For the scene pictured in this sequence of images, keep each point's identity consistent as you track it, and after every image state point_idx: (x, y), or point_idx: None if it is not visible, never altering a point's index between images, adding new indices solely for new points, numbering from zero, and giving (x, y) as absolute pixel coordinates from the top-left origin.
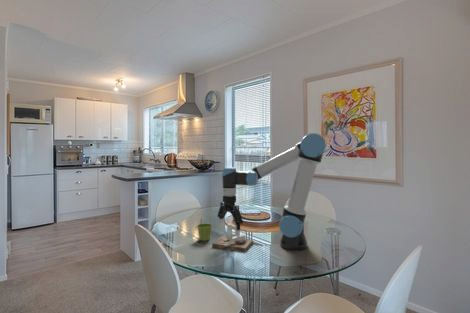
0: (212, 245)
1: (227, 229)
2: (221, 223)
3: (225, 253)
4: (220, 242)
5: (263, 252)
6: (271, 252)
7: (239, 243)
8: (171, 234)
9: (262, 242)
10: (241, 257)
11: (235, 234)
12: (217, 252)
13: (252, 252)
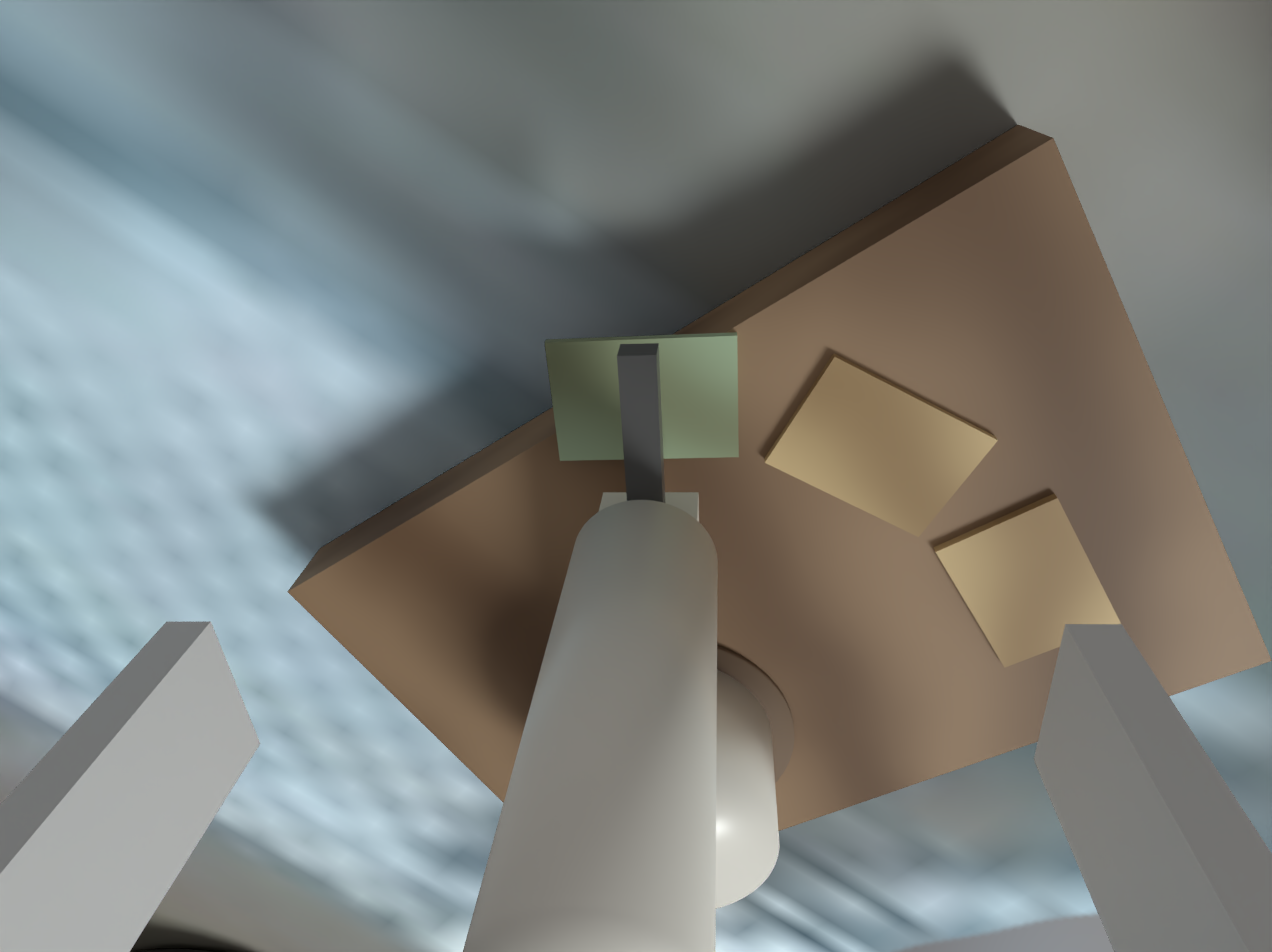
0: (1022, 134)
1: (610, 721)
2: (1201, 905)
3: (431, 175)
4: (931, 382)
5: None
6: None
7: None
8: None
9: None
10: (88, 331)
11: (150, 661)
12: (597, 32)
13: (240, 610)
